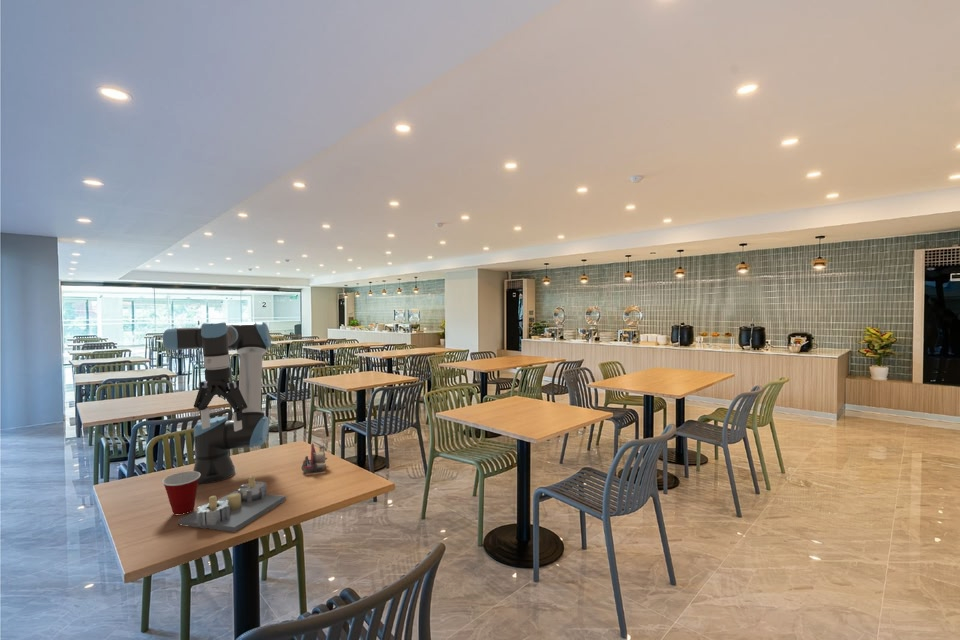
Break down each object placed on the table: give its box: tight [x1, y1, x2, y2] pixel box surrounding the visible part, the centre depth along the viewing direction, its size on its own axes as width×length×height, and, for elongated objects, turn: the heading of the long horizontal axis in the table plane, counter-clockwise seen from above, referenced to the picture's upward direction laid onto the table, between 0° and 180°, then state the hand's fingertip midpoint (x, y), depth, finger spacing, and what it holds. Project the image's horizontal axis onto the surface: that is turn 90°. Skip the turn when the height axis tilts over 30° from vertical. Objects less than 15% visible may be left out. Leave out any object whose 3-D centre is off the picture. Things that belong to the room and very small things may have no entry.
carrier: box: [177, 475, 287, 533], centre depth 148 cm, size 22×22×8 cm
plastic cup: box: [161, 470, 201, 515], centre depth 150 cm, size 11×11×12 cm
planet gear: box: [196, 500, 230, 526], centre depth 140 cm, size 9×9×4 cm
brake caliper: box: [301, 443, 328, 476], centre depth 184 cm, size 11×11×12 cm
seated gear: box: [237, 480, 268, 503], centre depth 156 cm, size 9×8×4 cm
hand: (222, 429), depth 154 cm, fingers open, 13 cm apart
